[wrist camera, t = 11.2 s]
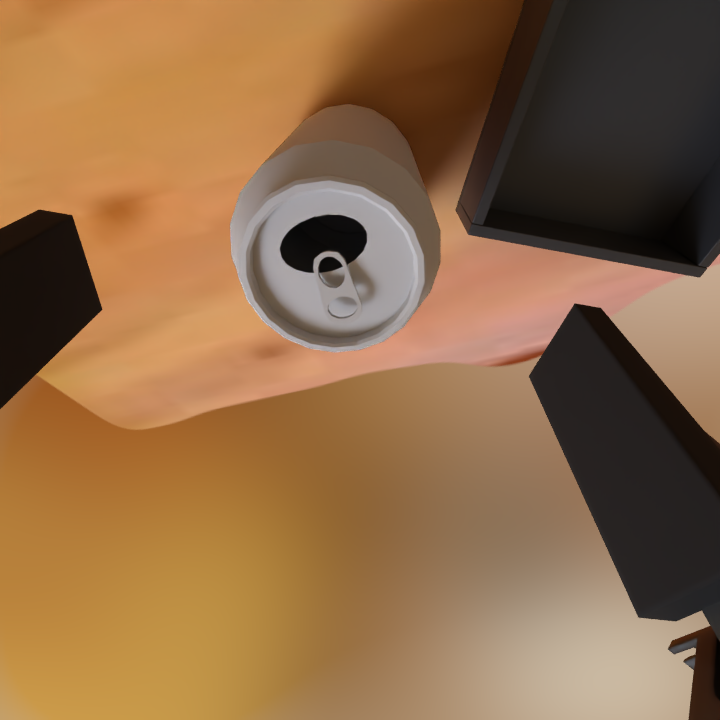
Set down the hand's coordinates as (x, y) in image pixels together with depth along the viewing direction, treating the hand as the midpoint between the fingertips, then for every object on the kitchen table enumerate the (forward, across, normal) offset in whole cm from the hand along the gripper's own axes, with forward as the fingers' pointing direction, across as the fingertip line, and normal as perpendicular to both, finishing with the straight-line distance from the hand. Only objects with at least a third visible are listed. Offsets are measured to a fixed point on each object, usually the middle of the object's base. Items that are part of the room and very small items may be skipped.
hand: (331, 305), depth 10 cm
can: (+14, 0, 0) cm, 14 cm away
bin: (+14, +13, +6) cm, 20 cm away
